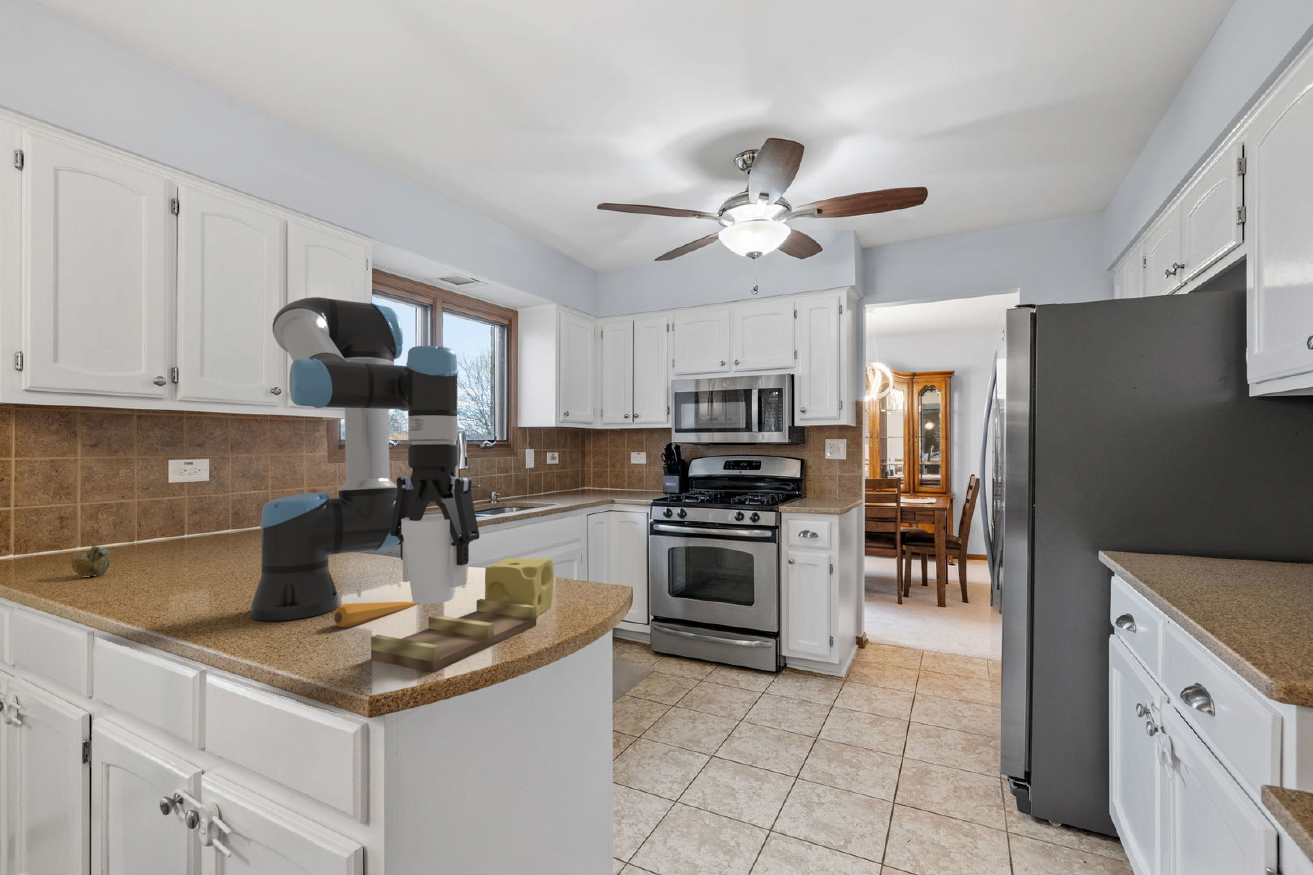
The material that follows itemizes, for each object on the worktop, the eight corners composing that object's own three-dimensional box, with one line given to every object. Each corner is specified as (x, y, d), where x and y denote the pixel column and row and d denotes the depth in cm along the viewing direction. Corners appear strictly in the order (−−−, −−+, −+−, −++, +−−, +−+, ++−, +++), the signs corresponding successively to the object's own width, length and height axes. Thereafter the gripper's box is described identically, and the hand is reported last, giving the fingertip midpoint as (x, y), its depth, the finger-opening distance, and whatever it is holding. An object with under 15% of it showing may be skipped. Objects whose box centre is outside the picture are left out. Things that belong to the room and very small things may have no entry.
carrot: (341, 634, 109) (349, 612, 109) (326, 622, 111) (334, 600, 111) (426, 617, 127) (433, 597, 127) (412, 606, 129) (419, 587, 129)
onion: (112, 572, 162) (112, 542, 162) (110, 577, 155) (110, 545, 155) (73, 576, 157) (73, 545, 157) (68, 581, 151) (69, 549, 151)
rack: (370, 659, 94) (370, 636, 94) (480, 616, 117) (480, 598, 117) (433, 672, 89) (433, 648, 89) (536, 625, 112) (536, 606, 112)
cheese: (534, 621, 114) (534, 568, 115) (481, 618, 117) (481, 566, 117) (554, 606, 125) (554, 557, 125) (505, 604, 127) (505, 556, 127)
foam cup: (413, 592, 102) (413, 514, 102) (470, 590, 103) (469, 513, 103) (393, 607, 92) (392, 522, 93) (455, 605, 93) (454, 520, 93)
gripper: (365, 444, 99) (365, 581, 99) (470, 442, 90) (470, 594, 90) (401, 443, 106) (402, 572, 106) (503, 442, 97) (504, 583, 96)
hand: (433, 582), depth 98 cm, fingers closed on foam cup, 9 cm apart
